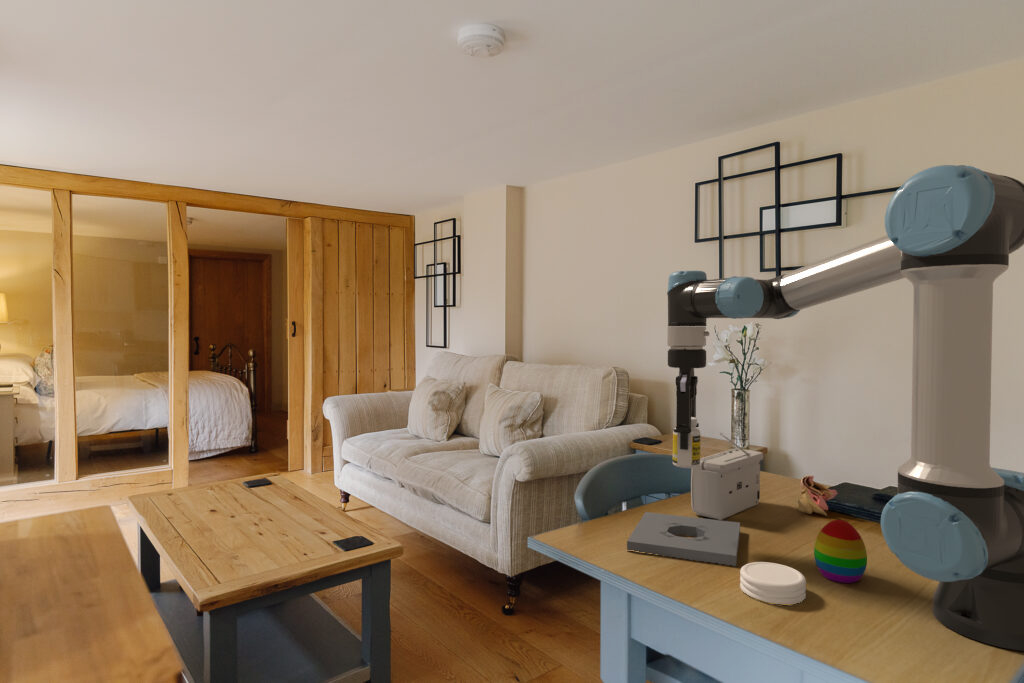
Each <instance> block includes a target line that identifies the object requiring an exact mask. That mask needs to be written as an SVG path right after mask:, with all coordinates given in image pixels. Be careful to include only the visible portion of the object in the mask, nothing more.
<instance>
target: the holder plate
mask: <svg viewBox="0 0 1024 683" xmlns="http://www.w3.org/2000/svg"><path fill="white" fill-rule="evenodd" d="M680 534H681V535H680ZM685 536H690V537H685ZM740 537H741V522H737V521H728V520H718V519H713V518H703V517H693V516H687V515H686V516H684V515H675V514H665V513H659V512H650V511H649V512H648V511H645V512H644V513H643V515H642V517H641V519H640V520H639V521H638V523H637V525H636V526H635V528H634V529H633V531H632V533H631V534H630V536H629V537H628V538H627V541H626V551H627V550H634V551H639V552H645V553H652V554H658V555H664V556H663V557H665V556H671V557H670V558H672V557H676V558H675V559H679V558H684V559H683V560H686V559H689V560H688V561H693V560H697V561H696V562H700V561H704V562H703V563H707V562H711V563H710V564H715V563H718V564H717V565H722V564H725V565H724V566H729V565H732V566H731V567H737V559H738V554H737V553H738V552H739V551H738V550H739V544H740Z"/></svg>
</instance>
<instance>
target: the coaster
mask: <svg viewBox="0 0 1024 683" xmlns="http://www.w3.org/2000/svg"><path fill="white" fill-rule="evenodd" d="M739 574H740V576H739V580H740V583H739V588H740V590H741V591H743V592H744V593H746V594H747V595H749V596H751V597H753V598H756V599H759V600H762V601H765V602H769V603H776V604H796V603H799V604H801V603H802V601H803V600H804V599H805V600H806V598H807V594H806V590H807V587H806V586H807V585H806V583H807V580H806V577H805V576H804V574H803V573H802V572H800V571H799V570H797V569H795V568H793V567H791V566H788V565H784V564H781V563H775V562H769V561H768V562H767V561H755V562H754V561H753V562H749V563H746V564H744V565H743V566H741V568H740V570H739ZM744 593H743V594H744ZM746 594H745V595H746ZM747 595H746V596H747ZM749 596H748V597H749ZM805 600H804V601H805ZM804 601H803V602H804ZM800 602H801V603H800ZM796 605H797V604H796Z"/></svg>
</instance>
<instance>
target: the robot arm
mask: <svg viewBox="0 0 1024 683" xmlns="http://www.w3.org/2000/svg"><path fill="white" fill-rule="evenodd" d="M884 228H885V229H884V230H885V232H886V235H884V236H882V237H878V238H876V239H873V240H870V241H868V242H865V243H863V244H860V245H858V246H855V247H852V248H849V249H847V250H844V251H842V252H839V253H837V254H834V255H830V256H828V257H825V258H823V259H820V260H818V261H816V262H812V263H810V264H807V265H805V266H802V267H799V268H797V269H793V270H792V271H788V272H787V273H784V274H781V275H778V276H775V277H773V278H770V279H757V278H754V277H751V276H736V275H735V276H730V277H726V278H714V279H708V278H707V273H706V271H704V270H680V271H674V272H671V273H670V274H669V275H668V276H669V277H668V284H667V292H666V295H667V346H668V347H670V348H669V349H668V350H667V366H668V367H670V368H674V369H677V368H678V369H679V370H678V375H677V376H676V377H675V386H676V387H675V388H676V391H675V392H676V394H675V395H676V415H675V416H676V420H675V421H676V424H675V428H676V429H675V428H673V430H674V432H676V433H677V465H684V466H692V433H691V417H695V418H697V392H698V388H697V386H698V382H699V378H698V376H696V375H695V369H703V368H705V367H706V366H707V351H706V349H704V348H703V347H706V346H707V338H706V337H709V336H710V332H709V331H706V330H707V319H734V320H735V319H774V320H781V319H786V318H792V317H795V316H796V315H797V314H798V313H799V312H800V311H802V310H803V309H808V308H811V307H814V306H817V305H820V304H823V303H824V304H825V303H827V302H830V301H834V300H837V299H841V298H843V297H847V296H849V295H853V294H857V293H860V292H864V291H867V290H870V289H873V288H876V287H879V286H883V285H886V284H889V283H892V282H896V281H899V280H903V279H907V280H908V281H909V282H910V283H911V284H912V286H913V306H912V307H913V308H912V309H913V312H912V313H913V314H912V315H913V317H912V318H913V319H912V368H911V369H912V370H911V371H912V372H911V375H912V376H911V377H912V378H911V379H912V380H911V384H912V385H911V431H910V432H911V435H910V436H911V437H910V439H911V440H910V441H911V442H910V458H909V459H908V460H907V461H906V462H904V463H903V464H901V465H899V467H897V468H898V469H897V494H895V495H894V496H892V498H891V499H890V500H889V501H888V502H887V503H886V504H885V505H884V507H883V509H882V511H881V516H880V529H881V534H882V537H883V539H884V541H885V543H886V545H887V547H888V549H889V550H890V552H891V553H892V554H894V555H895V556H896V558H897V559H898V560H899V562H900V563H901V564H902V565H903V566H905V567H906V568H907V569H909V570H910V571H911V572H913V573H915V574H917V575H919V576H921V577H924V578H926V579H929V580H932V581H937V582H938V583H937V586H936V587H935V591H934V593H933V595H932V605H931V607H932V611H931V612H932V614H933V616H934V618H935V620H937V621H938V622H940V623H941V625H943V626H945V627H947V628H948V629H950V630H951V631H954V632H955V633H957V634H961V635H962V636H964V637H967V638H969V639H972V640H975V641H977V642H981V643H984V644H988V645H990V646H995V647H998V648H1003V649H1008V650H1012V651H1013V650H1014V651H1021V652H1024V472H1022V471H1021V472H1020V471H1017V470H1010V469H1003V468H997V467H991V464H990V463H991V462H990V456H991V455H990V454H991V453H990V451H991V450H990V449H991V406H992V404H991V403H992V402H991V400H992V398H991V397H992V396H991V395H992V359H993V357H992V355H993V354H992V350H993V299H994V297H993V296H994V282H995V281H996V280H997V279H998V278H999V277H1000V276H1001V275H1002V274H1004V273H1005V272H1006V271H1007V270H1009V265H1010V263H1009V262H1010V260H1009V259H1010V254H1012V253H1014V252H1016V251H1017V250H1019V249H1020V248H1021V247H1023V246H1024V183H1023V181H1020V180H1018V179H1016V178H1014V177H1011V176H1007V175H1001V174H996V173H993V172H989V171H984V170H982V169H980V168H977V167H975V166H972V165H966V164H965V165H964V164H962V165H961V164H960V165H954V164H943V165H936V166H932V167H929V168H926V169H923V170H921V171H919V172H917V173H916V174H914V175H912V176H911V177H909V178H908V179H907V180H905V182H903V184H902V185H901V186H900V187H899V188H898V189H896V191H895V192H894V193H893V194H892V196H891V198H890V200H889V201H888V205H887V207H886V211H885V214H884ZM699 426H700V424H699V422H697V426H696V428H699Z"/></svg>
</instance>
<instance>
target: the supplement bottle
mask: <svg viewBox="0 0 1024 683" xmlns="http://www.w3.org/2000/svg"><path fill="white" fill-rule="evenodd" d="M697 423H698V418H697V417H696V418H695V417H691V433H692V466H684V465H677V433H676V432H674V429H676V427H675V428H674V429H673V431H672V465H674V466H675V467H678V468H683V469H691V468H697V467H699V466H700V458H701V437H702V435H701V431H700V429H699V428H698V427H696V426H697Z"/></svg>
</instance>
